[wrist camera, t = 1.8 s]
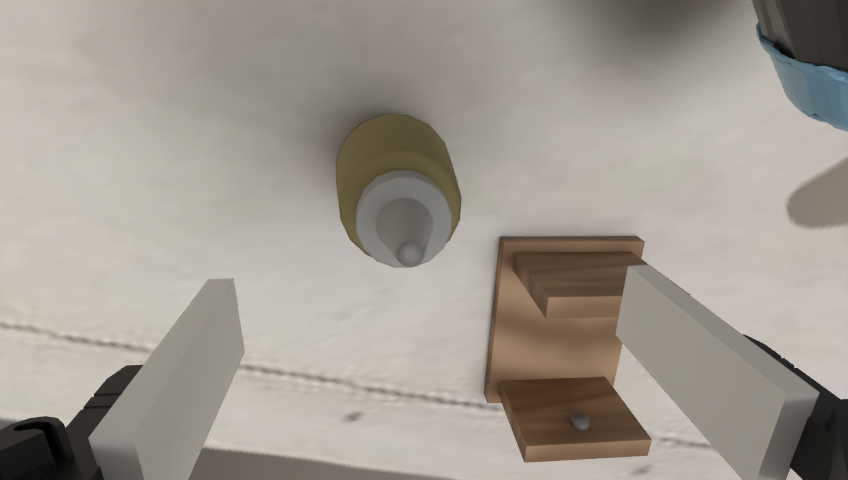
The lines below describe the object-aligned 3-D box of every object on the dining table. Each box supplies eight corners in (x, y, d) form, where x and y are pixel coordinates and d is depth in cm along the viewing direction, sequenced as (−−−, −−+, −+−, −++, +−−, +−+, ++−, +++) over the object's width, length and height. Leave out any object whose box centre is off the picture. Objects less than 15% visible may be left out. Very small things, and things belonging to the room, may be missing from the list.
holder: (500, 236, 39) (535, 285, 30) (637, 236, 40) (707, 282, 32) (484, 394, 44) (510, 472, 36) (604, 389, 46) (656, 463, 37)
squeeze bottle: (377, 232, 37) (381, 370, 21) (316, 146, 34) (264, 227, 18) (463, 178, 36) (541, 277, 20) (409, 86, 34) (445, 111, 17)
